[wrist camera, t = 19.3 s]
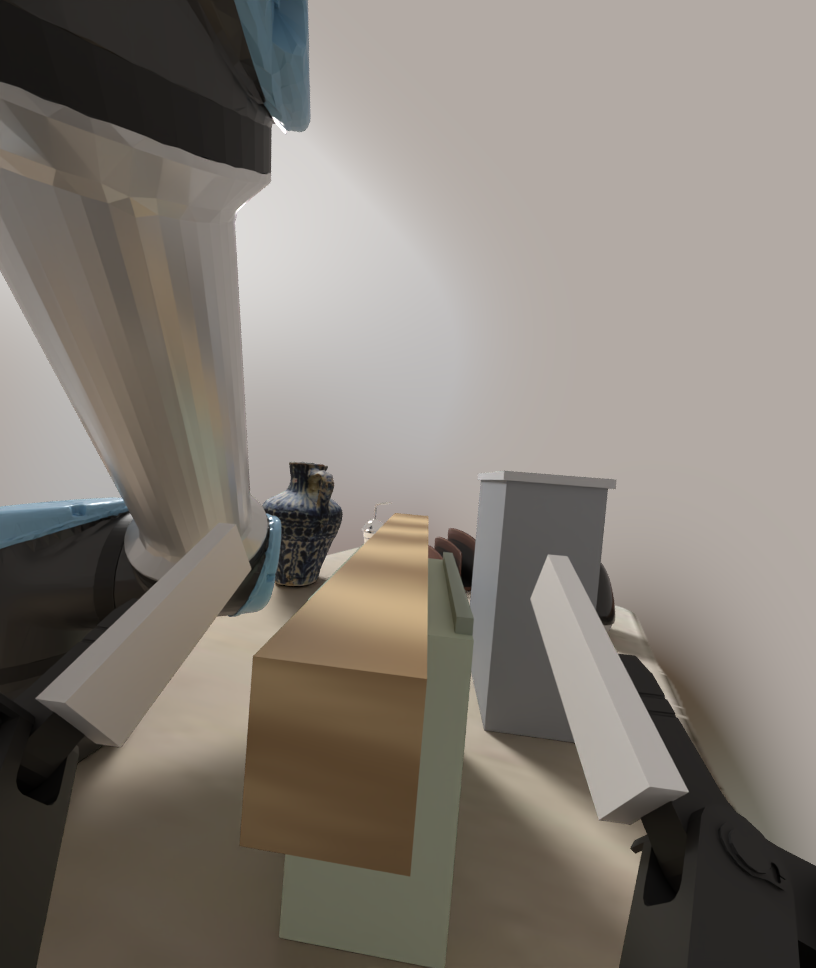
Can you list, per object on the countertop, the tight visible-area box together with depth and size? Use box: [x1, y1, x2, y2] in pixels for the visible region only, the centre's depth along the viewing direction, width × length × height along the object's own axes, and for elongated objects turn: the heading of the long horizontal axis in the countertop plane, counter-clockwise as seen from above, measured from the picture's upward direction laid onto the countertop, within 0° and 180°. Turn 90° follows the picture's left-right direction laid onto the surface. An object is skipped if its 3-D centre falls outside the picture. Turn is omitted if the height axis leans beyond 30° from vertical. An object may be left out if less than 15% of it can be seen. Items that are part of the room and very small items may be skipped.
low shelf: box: [279, 544, 474, 968], centre depth 25 cm, size 16×10×20 cm, turn 176°
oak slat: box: [240, 513, 428, 876], centre depth 20 cm, size 28×4×4 cm, turn 176°
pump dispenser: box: [596, 563, 615, 632], centre depth 59 cm, size 10×10×15 cm
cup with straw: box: [362, 502, 392, 544], centre depth 96 cm, size 8×9×20 cm
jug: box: [262, 462, 342, 586], centre depth 73 cm, size 21×19×30 cm
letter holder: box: [428, 528, 476, 591], centre depth 85 cm, size 10×20×14 cm, turn 15°
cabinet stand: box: [470, 471, 616, 743], centre depth 41 cm, size 17×12×30 cm
